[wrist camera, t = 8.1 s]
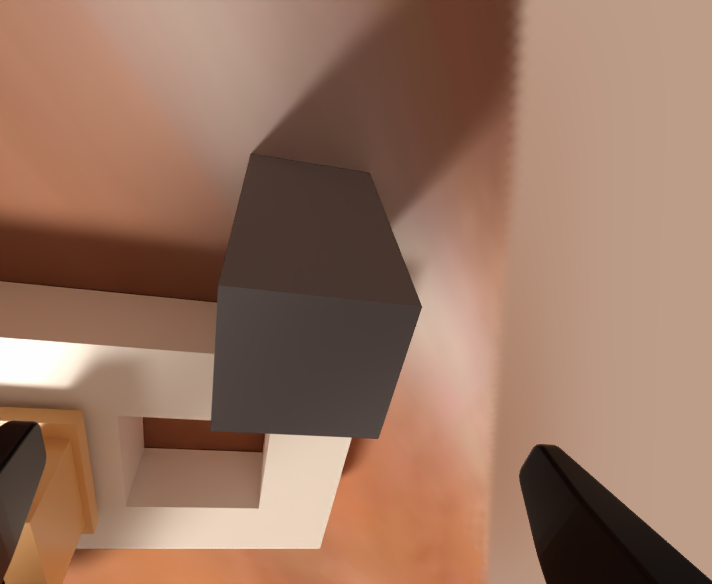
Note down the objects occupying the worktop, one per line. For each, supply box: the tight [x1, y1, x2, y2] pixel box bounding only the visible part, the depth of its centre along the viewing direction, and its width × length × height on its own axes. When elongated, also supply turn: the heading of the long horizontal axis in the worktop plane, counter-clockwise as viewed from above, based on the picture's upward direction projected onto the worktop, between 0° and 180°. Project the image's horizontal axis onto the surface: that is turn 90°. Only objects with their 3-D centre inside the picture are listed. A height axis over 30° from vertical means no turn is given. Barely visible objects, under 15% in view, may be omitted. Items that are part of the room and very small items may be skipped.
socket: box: [0, 281, 352, 549], centre depth 20 cm, size 12×18×3 cm, turn 79°
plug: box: [210, 154, 422, 439], centre depth 14 cm, size 4×4×8 cm
